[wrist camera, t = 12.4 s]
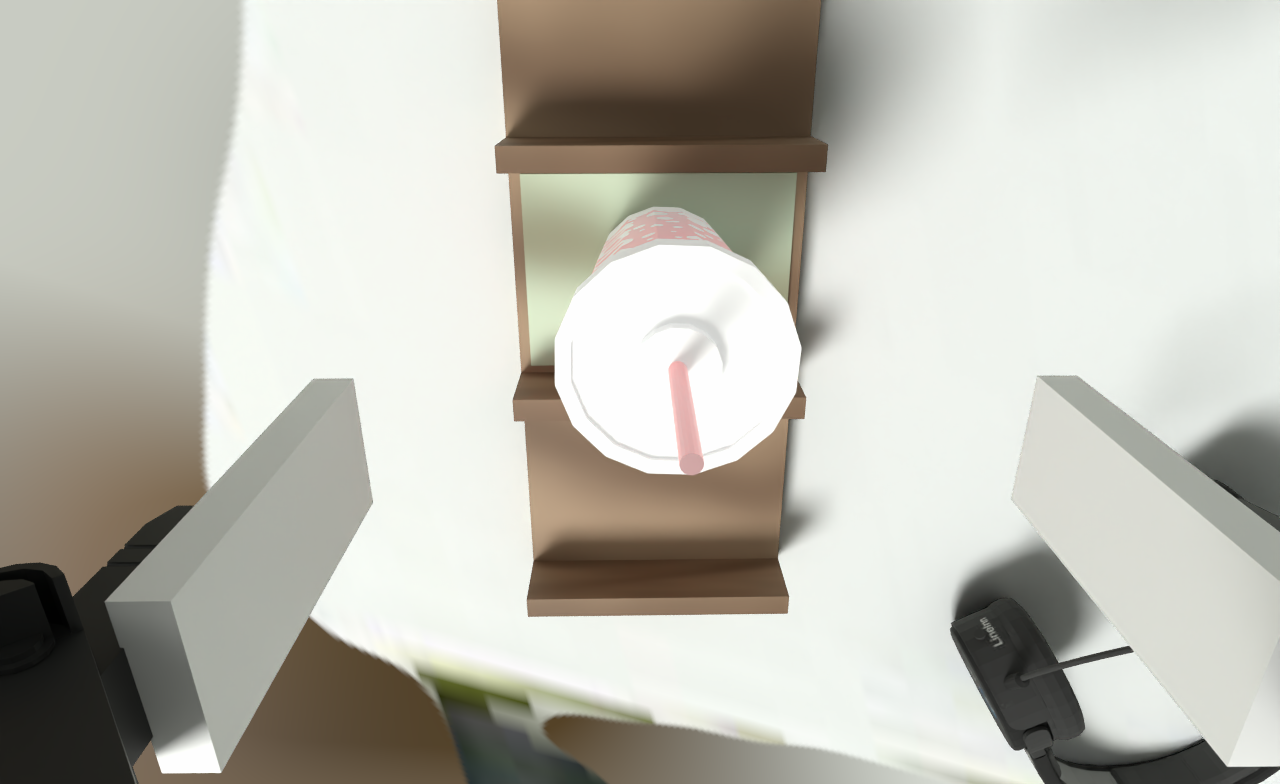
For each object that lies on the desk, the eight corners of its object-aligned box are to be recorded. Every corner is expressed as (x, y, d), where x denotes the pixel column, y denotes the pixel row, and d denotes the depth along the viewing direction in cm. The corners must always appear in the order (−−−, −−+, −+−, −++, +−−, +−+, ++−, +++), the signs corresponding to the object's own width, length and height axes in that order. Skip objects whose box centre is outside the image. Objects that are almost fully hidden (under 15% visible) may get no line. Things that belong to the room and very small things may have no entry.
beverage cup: (695, 146, 26) (757, 242, 14) (781, 300, 28) (907, 509, 16) (540, 244, 28) (463, 417, 15) (634, 384, 30) (638, 642, 17)
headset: (1410, 537, 22) (1515, 849, 31) (1178, 378, 31) (1311, 657, 39) (978, 761, 25) (1182, 989, 34) (875, 561, 34) (1058, 784, 42)
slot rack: (491, -157, 24) (471, -189, 21) (826, -157, 24) (856, -188, 21) (537, 562, 34) (528, 616, 31) (772, 560, 34) (787, 613, 31)
